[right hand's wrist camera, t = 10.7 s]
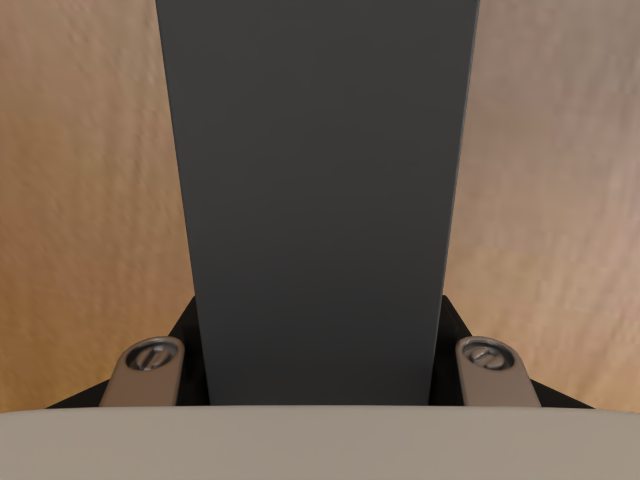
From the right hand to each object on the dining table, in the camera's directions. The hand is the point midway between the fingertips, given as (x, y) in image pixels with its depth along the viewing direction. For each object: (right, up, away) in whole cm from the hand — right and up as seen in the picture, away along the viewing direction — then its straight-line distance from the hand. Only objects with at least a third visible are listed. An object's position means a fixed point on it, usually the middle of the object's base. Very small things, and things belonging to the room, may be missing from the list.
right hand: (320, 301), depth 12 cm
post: (0, +24, -7) cm, 25 cm away
